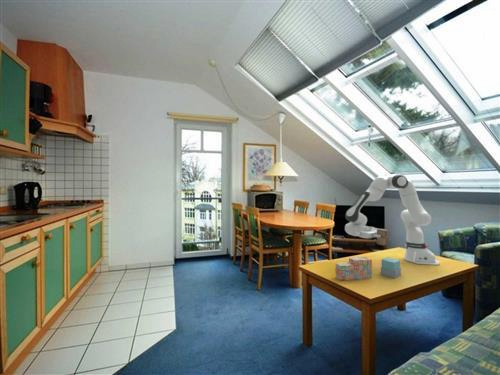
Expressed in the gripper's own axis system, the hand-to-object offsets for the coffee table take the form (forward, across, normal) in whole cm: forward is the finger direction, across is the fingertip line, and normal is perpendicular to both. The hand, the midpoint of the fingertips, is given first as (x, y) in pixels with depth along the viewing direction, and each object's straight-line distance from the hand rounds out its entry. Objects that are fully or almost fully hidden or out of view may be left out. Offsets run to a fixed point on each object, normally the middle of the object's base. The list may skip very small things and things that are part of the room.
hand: (383, 235), depth 172 cm
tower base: (+7, -3, +24) cm, 25 cm away
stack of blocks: (-2, -29, +24) cm, 38 cm away
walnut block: (-1, 0, +6) cm, 6 cm away
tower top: (+7, -3, +19) cm, 21 cm away
